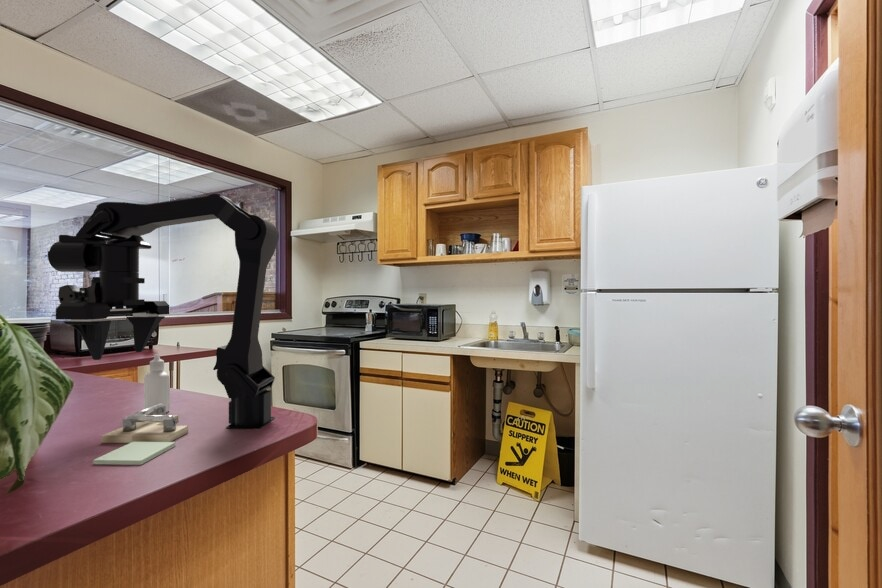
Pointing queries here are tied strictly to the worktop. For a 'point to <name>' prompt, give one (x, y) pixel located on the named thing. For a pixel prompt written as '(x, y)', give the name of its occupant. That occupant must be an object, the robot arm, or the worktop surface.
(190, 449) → the worktop surface
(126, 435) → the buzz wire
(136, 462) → the pad
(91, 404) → the worktop surface
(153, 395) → the eye dropper bottle
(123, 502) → the worktop surface
